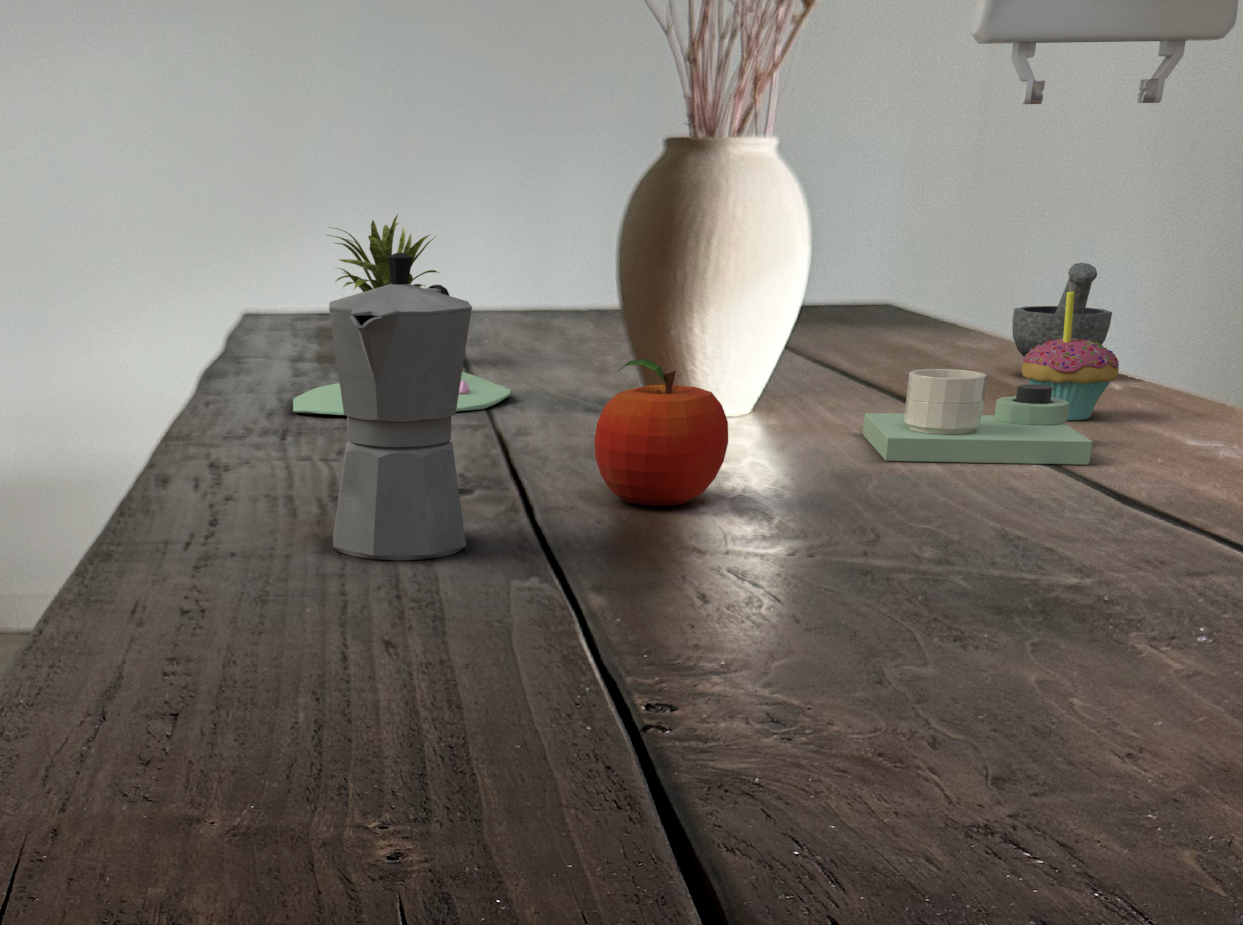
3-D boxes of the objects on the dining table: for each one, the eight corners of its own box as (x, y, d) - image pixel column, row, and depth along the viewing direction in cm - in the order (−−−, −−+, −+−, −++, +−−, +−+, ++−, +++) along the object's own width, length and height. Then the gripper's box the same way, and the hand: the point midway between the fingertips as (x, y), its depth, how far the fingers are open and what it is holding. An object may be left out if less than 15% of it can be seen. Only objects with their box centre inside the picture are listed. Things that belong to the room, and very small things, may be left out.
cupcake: (1081, 426, 154) (1103, 287, 150) (995, 416, 160) (1014, 281, 155) (1127, 416, 160) (1150, 281, 155) (1042, 406, 165) (1062, 276, 161)
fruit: (711, 519, 118) (723, 370, 114) (577, 509, 122) (584, 364, 118) (734, 493, 127) (745, 354, 123) (607, 485, 130) (615, 348, 126)
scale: (1052, 437, 149) (1059, 396, 148) (1093, 465, 137) (1100, 420, 136) (861, 434, 151) (866, 393, 150) (885, 461, 139) (890, 417, 137)
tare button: (1045, 402, 147) (1048, 384, 146) (1053, 407, 144) (1056, 389, 144) (1011, 402, 147) (1014, 384, 146) (1019, 407, 145) (1021, 388, 144)
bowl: (970, 424, 144) (978, 369, 142) (985, 436, 139) (993, 379, 137) (898, 423, 145) (904, 368, 143) (910, 434, 139) (916, 378, 138)
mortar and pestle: (997, 370, 190) (1013, 256, 185) (1083, 370, 189) (1102, 256, 185) (1023, 384, 180) (1041, 263, 175) (1114, 385, 179) (1135, 264, 174)
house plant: (316, 357, 202) (313, 209, 196) (431, 355, 204) (432, 208, 197) (326, 372, 189) (324, 215, 183) (449, 370, 191) (451, 214, 184)
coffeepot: (432, 574, 104) (436, 262, 97) (292, 561, 107) (285, 258, 100) (507, 523, 117) (516, 245, 110) (380, 513, 121) (380, 242, 113)
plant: (441, 426, 155) (442, 323, 151) (244, 411, 163) (241, 313, 160) (539, 391, 176) (543, 299, 172) (360, 380, 184) (360, 291, 180)
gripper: (1240, -86, 137) (1208, 102, 143) (978, -80, 140) (956, 105, 145) (1268, -95, 132) (1234, 101, 137) (995, -89, 134) (972, 104, 139)
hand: (1089, 103), depth 141 cm, fingers open, 8 cm apart
